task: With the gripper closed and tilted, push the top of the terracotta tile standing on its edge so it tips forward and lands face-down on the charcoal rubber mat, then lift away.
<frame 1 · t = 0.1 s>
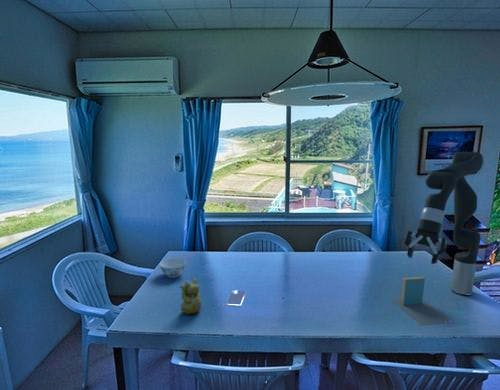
hand: (420, 260, 121), 31 cm above the table, fingers open, 8 cm apart
tile: (411, 303, 148), point 1 cm above the table, touching mat
mat: (420, 311, 143), on the table
mobile phone: (236, 299, 154), on the table
chinaware: (173, 275, 180), on the table
decorative figurine: (192, 312, 142), on the table
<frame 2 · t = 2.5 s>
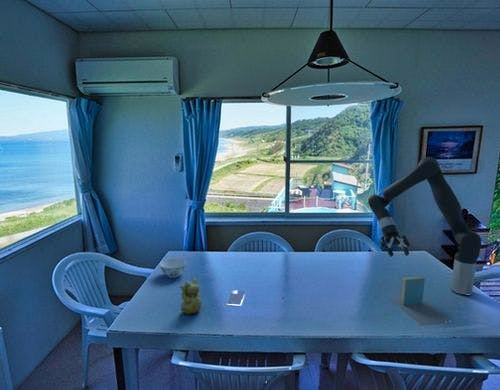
hand: (399, 255, 156), 21 cm above the table, fingers open, 8 cm apart
nothing on the table moved.
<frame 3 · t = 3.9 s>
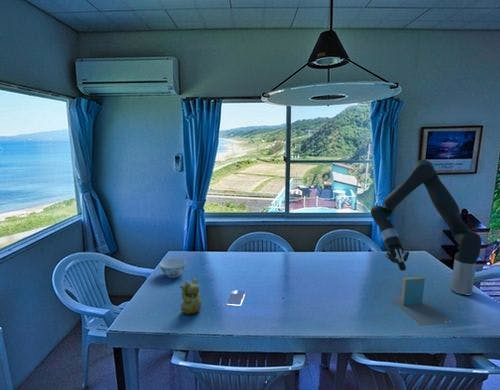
hand: (403, 270, 153), 14 cm above the table, fingers closed
nothing on the table moved.
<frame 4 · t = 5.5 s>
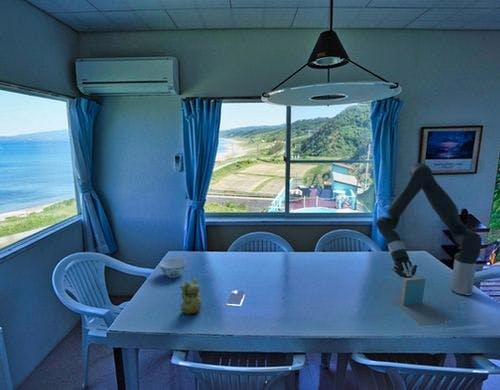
hand: (411, 284, 148), 10 cm above the table, fingers closed
tile: (411, 303, 148), point 1 cm above the table, touching gripper, mat
everything else where it was.
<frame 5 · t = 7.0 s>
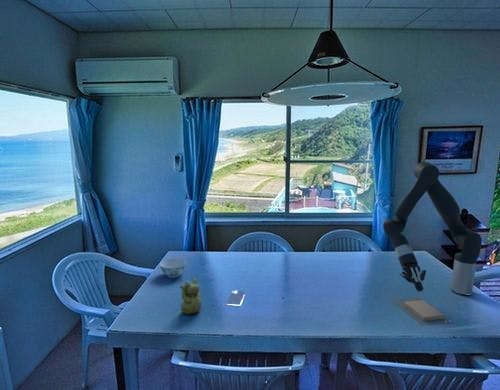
hand: (420, 290, 142), 10 cm above the table, fingers closed
tile: (413, 302, 147), point 2 cm above the table, tilted 90°, touching mat
everything else where it was.
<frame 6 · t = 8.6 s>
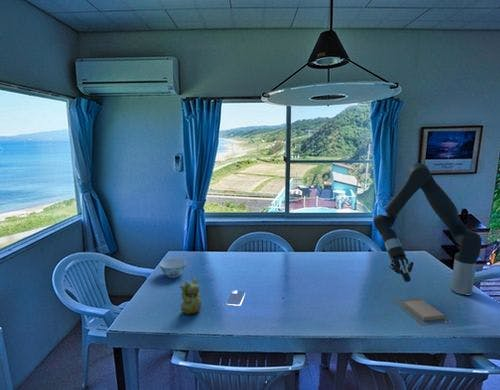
hand: (408, 281, 150), 10 cm above the table, fingers closed
nothing on the table moved.
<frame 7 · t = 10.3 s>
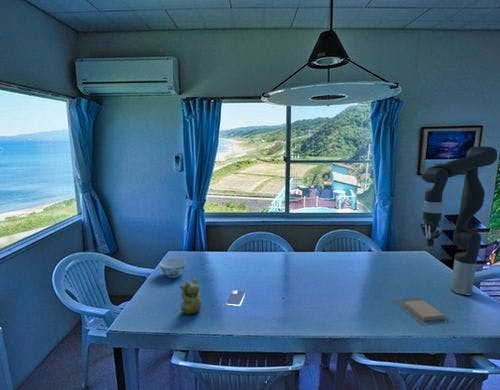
hand: (429, 245, 148), 28 cm above the table, fingers closed
nothing on the table moved.
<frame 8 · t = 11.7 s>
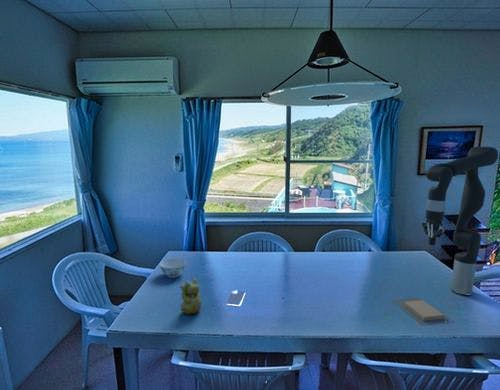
hand: (431, 244, 147), 29 cm above the table, fingers closed
nothing on the table moved.
at the end: tile tilted 90°; tile inside the target area on the mat (2.6 cm from its centre), point 1.9 cm above the mat's base; tile touching mat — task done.
